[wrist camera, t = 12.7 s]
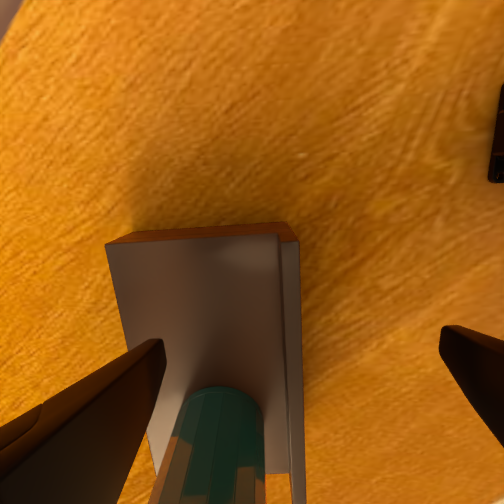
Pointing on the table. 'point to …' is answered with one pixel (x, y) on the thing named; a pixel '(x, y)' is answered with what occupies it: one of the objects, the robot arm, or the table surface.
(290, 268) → the desk shelf
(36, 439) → the robot arm
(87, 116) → the table surface
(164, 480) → the glazed pot
